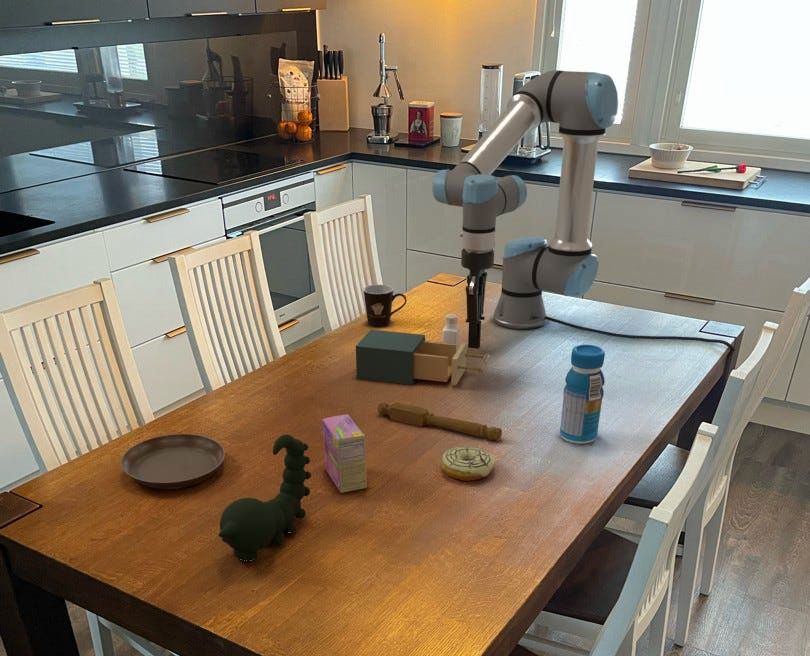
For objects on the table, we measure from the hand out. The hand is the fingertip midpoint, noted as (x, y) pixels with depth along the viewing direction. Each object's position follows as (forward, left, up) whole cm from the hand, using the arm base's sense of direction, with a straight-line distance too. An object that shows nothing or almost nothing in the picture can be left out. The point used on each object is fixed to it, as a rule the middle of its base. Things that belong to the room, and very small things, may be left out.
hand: (474, 347), depth 208 cm
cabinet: (+21, 0, -9) cm, 23 cm away
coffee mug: (+34, -33, -9) cm, 48 cm away
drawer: (+7, 0, -8) cm, 10 cm away
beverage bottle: (-29, +23, -9) cm, 38 cm away
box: (+14, +55, -9) cm, 58 cm away
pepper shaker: (+10, -19, -9) cm, 23 cm away
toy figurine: (+20, +80, -9) cm, 83 cm away
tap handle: (+2, +27, -9) cm, 29 cm away
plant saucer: (+49, +61, -9) cm, 79 cm away
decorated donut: (-9, +45, -9) cm, 47 cm away
